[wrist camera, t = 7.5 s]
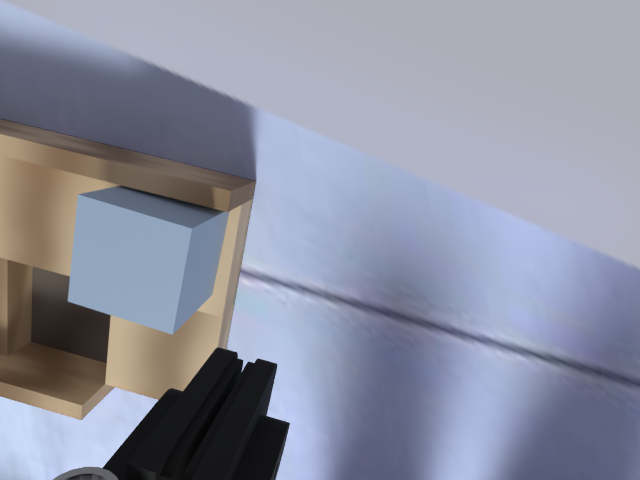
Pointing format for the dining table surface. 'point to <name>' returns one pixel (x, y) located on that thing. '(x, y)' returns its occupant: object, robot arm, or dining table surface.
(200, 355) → the box
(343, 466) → the dining table surface
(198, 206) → the block
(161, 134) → the dining table surface
